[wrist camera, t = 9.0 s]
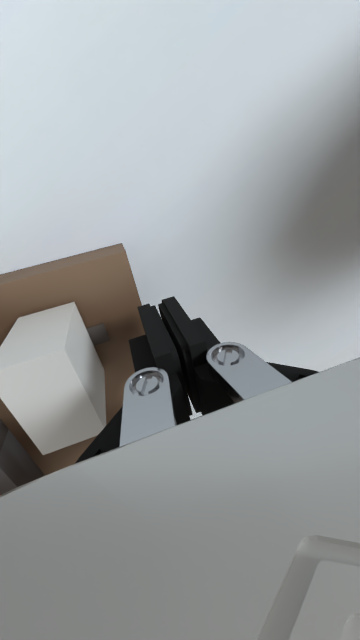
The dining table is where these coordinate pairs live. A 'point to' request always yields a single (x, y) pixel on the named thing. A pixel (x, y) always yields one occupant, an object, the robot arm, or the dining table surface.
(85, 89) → the dining table surface
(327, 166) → the dining table surface
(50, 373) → the block
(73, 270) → the control board
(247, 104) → the dining table surface
